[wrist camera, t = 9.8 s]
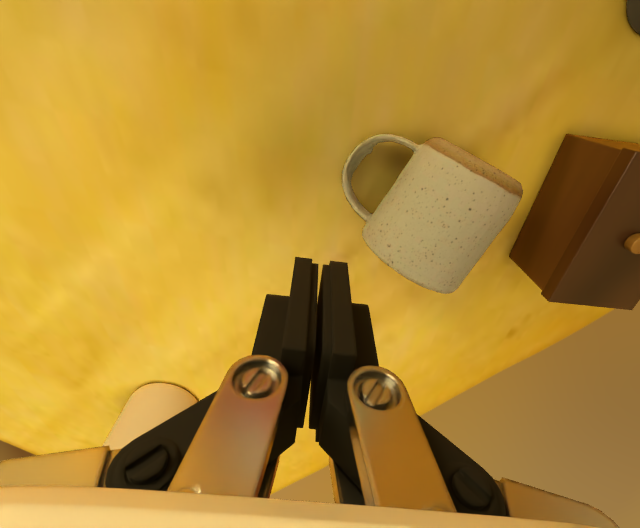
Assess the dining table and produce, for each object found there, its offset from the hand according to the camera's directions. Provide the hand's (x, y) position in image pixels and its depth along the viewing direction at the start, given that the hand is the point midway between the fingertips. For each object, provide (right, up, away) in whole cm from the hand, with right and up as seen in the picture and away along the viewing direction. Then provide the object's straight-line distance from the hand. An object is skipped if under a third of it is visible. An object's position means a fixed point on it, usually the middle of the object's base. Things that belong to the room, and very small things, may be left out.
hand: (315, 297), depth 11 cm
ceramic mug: (+7, +7, +15) cm, 18 cm away
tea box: (+20, +6, +15) cm, 26 cm away
